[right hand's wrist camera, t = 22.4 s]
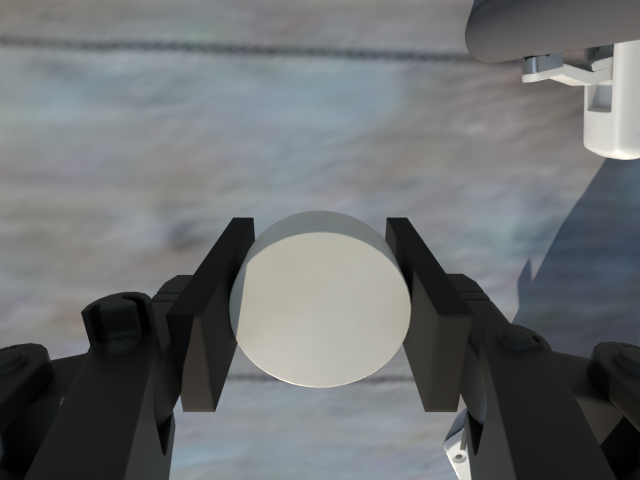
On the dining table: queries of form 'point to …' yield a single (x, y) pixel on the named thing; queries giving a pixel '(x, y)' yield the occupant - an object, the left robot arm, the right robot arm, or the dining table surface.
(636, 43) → the left robot arm
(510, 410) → the right robot arm
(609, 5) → the dark grey cylinder
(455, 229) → the dining table surface
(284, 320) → the cream round lid
